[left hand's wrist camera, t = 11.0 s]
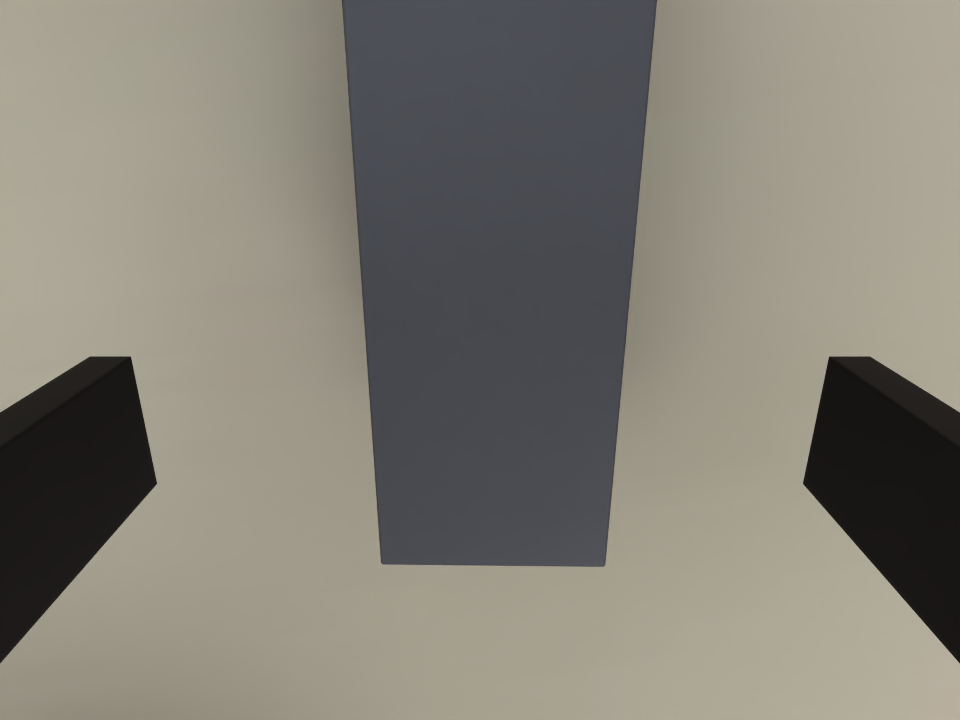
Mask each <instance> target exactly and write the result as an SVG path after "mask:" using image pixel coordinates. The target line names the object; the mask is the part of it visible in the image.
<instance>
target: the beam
mask: <svg viewBox="0 0 960 720" xmlns="http://www.w3.org/2000/svg"><path fill="white" fill-rule="evenodd" d="M656 4H657V0H342V6H343V21H344V35H345V50H346V64H347V79H348V93H349V107H350V122H351V136H352V151H353V165H354V180H355V194H356V208H357V223H358V237H359V252H360V266H361V280H362V295H363V309H364V324H365V338H366V353H367V367H368V381H369V396H370V410H371V425H372V439H373V454H374V468H375V482H376V497H377V511H378V526H379V540H380V555H381V563H382V564H405V565H497V566H589V567H603V566H605V561H606V550H607V539H608V528H609V517H610V506H611V496H612V485H613V474H614V463H615V452H616V441H617V430H618V419H619V408H620V397H621V386H622V375H623V365H624V354H625V343H626V332H627V321H628V310H629V299H630V288H631V277H632V266H633V255H634V244H635V234H636V223H637V212H638V201H639V190H640V179H641V168H642V157H643V146H644V135H645V124H646V113H647V103H648V92H649V81H650V70H651V59H652V48H653V37H654V26H655V15H656Z"/></svg>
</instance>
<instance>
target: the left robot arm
mask: <svg viewBox="0 0 960 720" xmlns="http://www.w3.org/2000/svg"><path fill="white" fill-rule="evenodd" d="M156 484H157V481H156V477H155V472H154V467H153V462H152V457H151V452H150V447H149V443H148V438H147V433H146V428H145V423H144V418H143V413H142V409H141V404H140V399H139V394H138V389H137V384H136V379H135V375H134V370H133V365H132V360H131V357H89V358H87V359H85V360H84V361H82V362H81V363H79V364H77V365H76V366H74V367H73V368H71V369H69V370H68V371H66V372H65V373H63V374H61V375H60V376H58V377H57V378H55V379H53V380H52V381H50V382H49V383H47V384H45V385H44V386H42V387H41V388H39V389H37V390H36V391H34V392H33V393H31V394H29V395H28V396H26V397H24V398H23V399H21V400H20V401H18V402H16V403H15V404H13V405H12V406H10V407H8V408H7V409H5V410H4V411H2V412H0V663H1V662H2V661H3V660H4V658H5V657H6V656H7V655H8V654H9V653H10V652H11V650H12V649H13V648H14V647H15V646H16V645H17V644H18V642H19V641H20V640H21V639H22V638H23V637H24V635H25V634H26V633H27V632H28V631H29V630H30V629H31V627H32V626H33V625H34V624H35V623H36V622H37V621H38V619H39V618H40V617H41V616H42V615H43V614H44V613H45V611H46V610H47V609H48V608H49V607H50V606H51V605H52V603H53V602H54V601H55V600H56V599H57V598H58V597H59V595H60V594H61V593H62V592H63V591H64V590H65V588H66V587H67V586H68V585H69V584H70V583H71V582H72V580H73V579H74V578H75V577H76V576H77V575H78V574H79V572H80V571H81V570H82V569H83V568H84V567H85V566H86V564H87V563H88V562H89V561H90V560H91V559H92V558H93V556H94V555H95V554H96V553H97V552H98V551H99V550H100V548H101V547H102V546H103V545H104V544H105V543H106V542H107V540H108V539H109V538H110V537H111V536H112V535H113V533H114V532H115V531H116V530H117V529H118V528H119V527H120V525H121V524H122V523H123V522H124V521H125V520H126V519H127V517H128V516H129V515H130V514H131V513H132V512H133V511H134V509H135V508H136V507H137V506H138V505H139V504H140V503H141V501H142V500H143V499H144V498H145V497H146V496H147V495H148V493H149V492H150V491H151V490H152V489H153V488H154V487H155V485H156ZM803 484H804V485H805V487H806V488H807V489H808V490H809V491H810V492H811V493H812V495H813V496H814V497H815V498H816V499H817V500H818V501H819V503H820V504H821V505H822V506H823V507H824V508H825V509H826V511H827V512H828V513H829V514H830V515H831V516H832V517H833V519H834V520H835V521H836V522H837V523H838V524H839V525H840V527H841V528H842V529H843V530H844V531H845V532H846V533H847V535H848V536H849V537H850V538H851V539H852V540H853V542H854V543H855V544H856V545H857V546H858V547H859V548H860V550H861V551H862V552H863V553H864V554H865V555H866V556H867V558H868V559H869V560H870V561H871V562H872V563H873V564H874V566H875V567H876V568H877V569H878V570H879V571H880V572H881V574H882V575H883V576H884V577H885V578H886V579H887V580H888V582H889V583H890V584H891V585H892V586H893V587H894V588H895V590H896V591H897V592H898V593H899V594H900V595H901V597H902V598H903V599H904V600H905V601H906V602H907V603H908V605H909V606H910V607H911V608H912V609H913V610H914V611H915V613H916V614H917V615H918V616H919V617H920V618H921V619H922V621H923V622H924V623H925V624H926V625H927V626H928V627H929V629H930V630H931V631H932V632H933V633H934V634H935V635H936V637H937V638H938V639H939V640H940V641H941V642H942V644H943V645H944V646H945V647H946V648H947V649H948V650H949V652H950V653H951V654H952V655H953V656H954V657H955V658H956V660H957V661H958V662H959V663H960V412H958V411H956V410H955V409H953V408H952V407H950V406H948V405H947V404H945V403H944V402H942V401H940V400H939V399H937V398H936V397H934V396H932V395H931V394H929V393H927V392H926V391H924V390H923V389H921V388H919V387H918V386H916V385H915V384H913V383H911V382H910V381H908V380H907V379H905V378H903V377H902V376H900V375H899V374H897V373H895V372H894V371H892V370H891V369H889V368H887V367H886V366H884V365H883V364H881V363H879V362H878V361H876V360H875V359H873V358H871V357H829V360H828V365H827V370H826V375H825V379H824V384H823V389H822V394H821V399H820V404H819V409H818V413H817V418H816V423H815V428H814V433H813V438H812V443H811V447H810V452H809V457H808V462H807V467H806V472H805V477H804V481H803Z"/></svg>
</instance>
